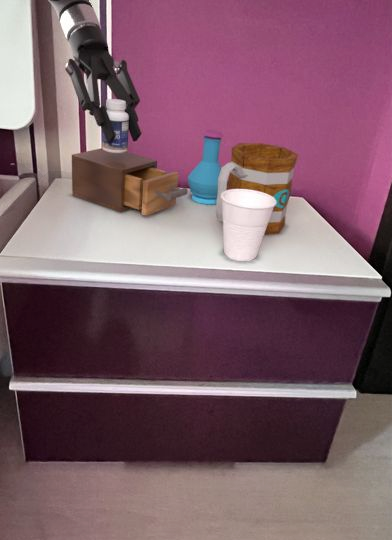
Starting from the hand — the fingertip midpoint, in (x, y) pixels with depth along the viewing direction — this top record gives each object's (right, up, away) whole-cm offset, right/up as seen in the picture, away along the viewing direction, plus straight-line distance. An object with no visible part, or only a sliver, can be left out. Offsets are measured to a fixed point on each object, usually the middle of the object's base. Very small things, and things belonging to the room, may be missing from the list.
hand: (124, 138), depth 115 cm
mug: (+25, -17, +3) cm, 30 cm away
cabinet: (-4, -10, +10) cm, 14 cm away
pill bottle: (-3, -1, +4) cm, 5 cm away
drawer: (+4, -12, +5) cm, 14 cm away
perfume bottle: (+17, -8, +15) cm, 24 cm away
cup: (+23, -26, -10) cm, 36 cm away
